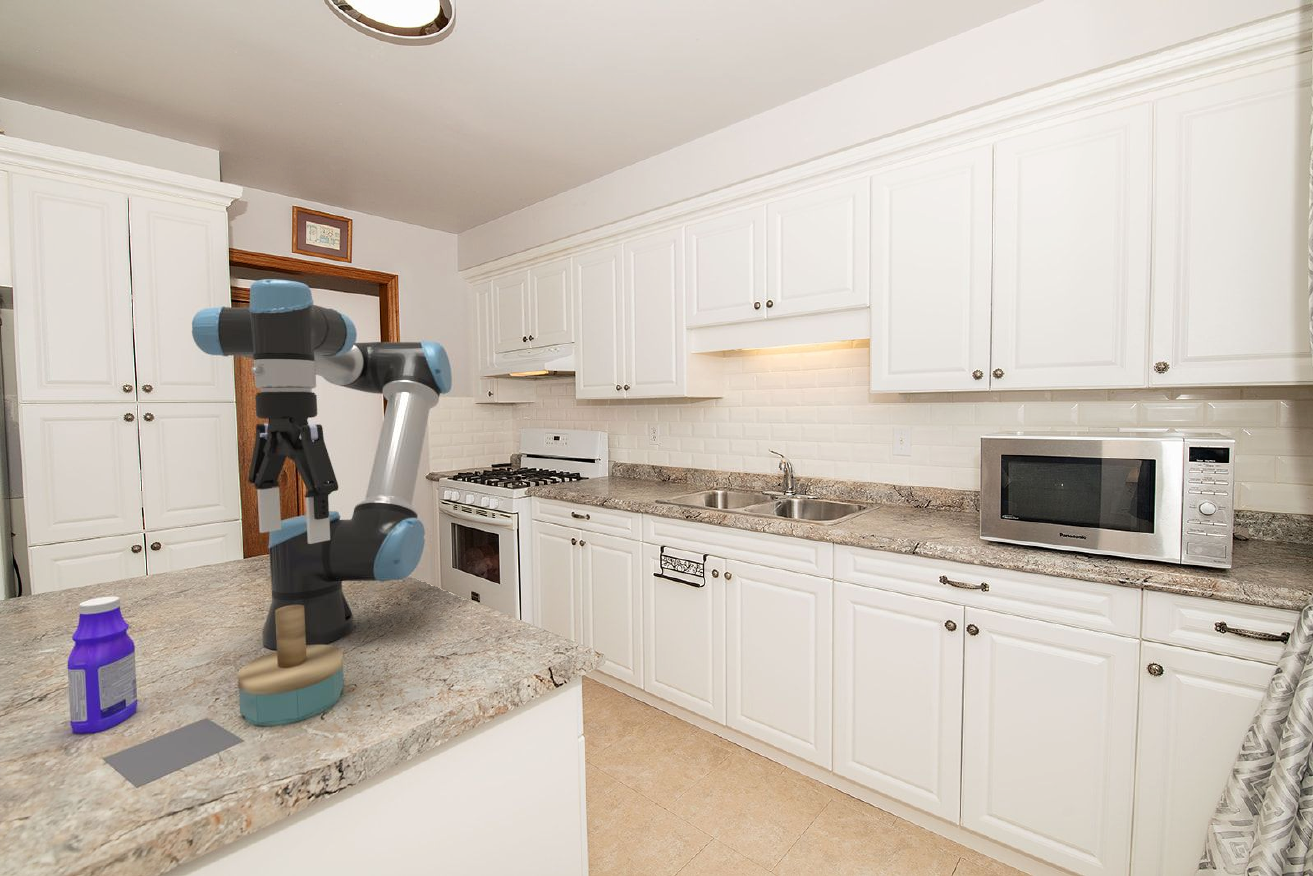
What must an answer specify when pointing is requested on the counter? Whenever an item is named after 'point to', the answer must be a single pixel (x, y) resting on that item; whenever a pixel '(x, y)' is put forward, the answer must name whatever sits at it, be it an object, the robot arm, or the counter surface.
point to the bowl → (291, 702)
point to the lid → (290, 659)
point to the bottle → (101, 668)
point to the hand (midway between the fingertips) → (293, 536)
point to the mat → (171, 751)
